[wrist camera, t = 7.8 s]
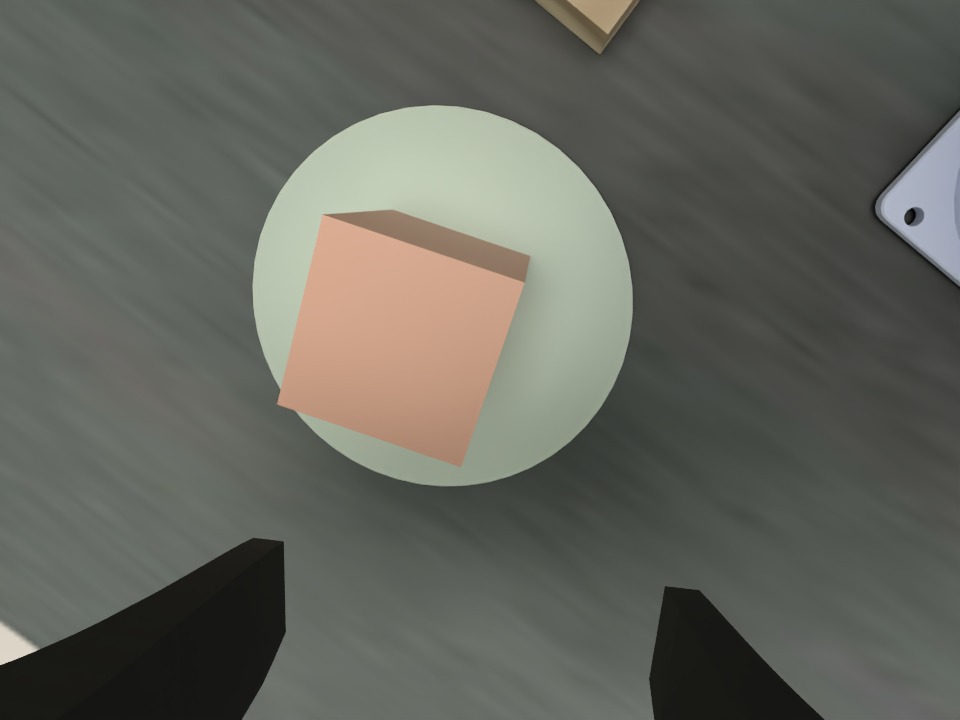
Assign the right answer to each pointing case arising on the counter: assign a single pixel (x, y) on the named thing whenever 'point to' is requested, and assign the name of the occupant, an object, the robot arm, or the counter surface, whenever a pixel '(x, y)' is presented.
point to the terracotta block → (401, 329)
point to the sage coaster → (487, 216)
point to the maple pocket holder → (591, 18)
